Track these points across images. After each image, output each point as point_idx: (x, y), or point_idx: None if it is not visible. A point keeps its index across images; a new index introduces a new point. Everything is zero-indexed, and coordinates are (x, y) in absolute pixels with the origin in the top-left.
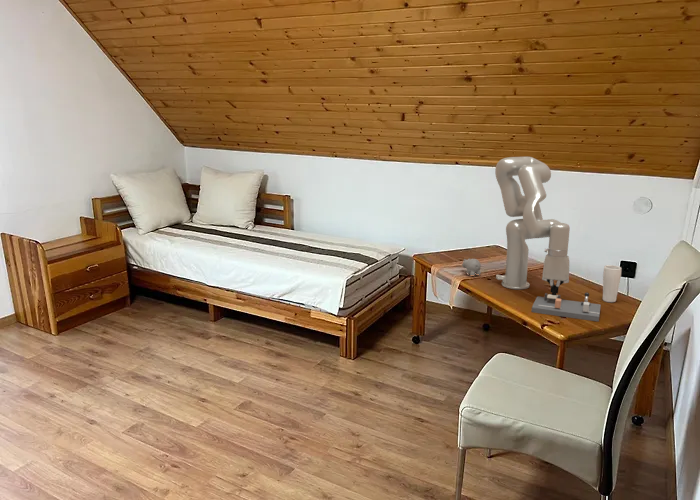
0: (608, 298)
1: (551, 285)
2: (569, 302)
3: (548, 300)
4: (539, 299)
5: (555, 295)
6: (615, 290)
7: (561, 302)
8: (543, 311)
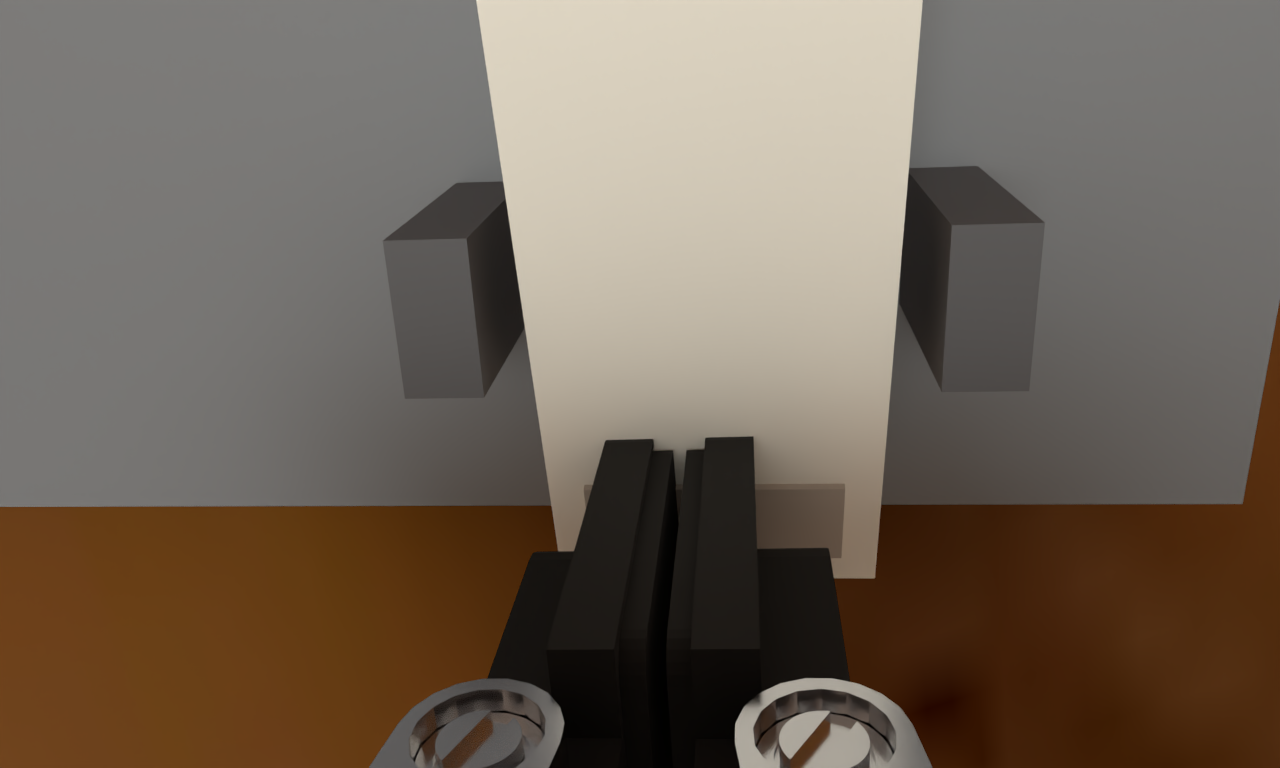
0: None
1: (832, 722)
2: (185, 327)
3: None
4: (1159, 201)
5: (598, 355)
6: None
7: (399, 213)
8: None
